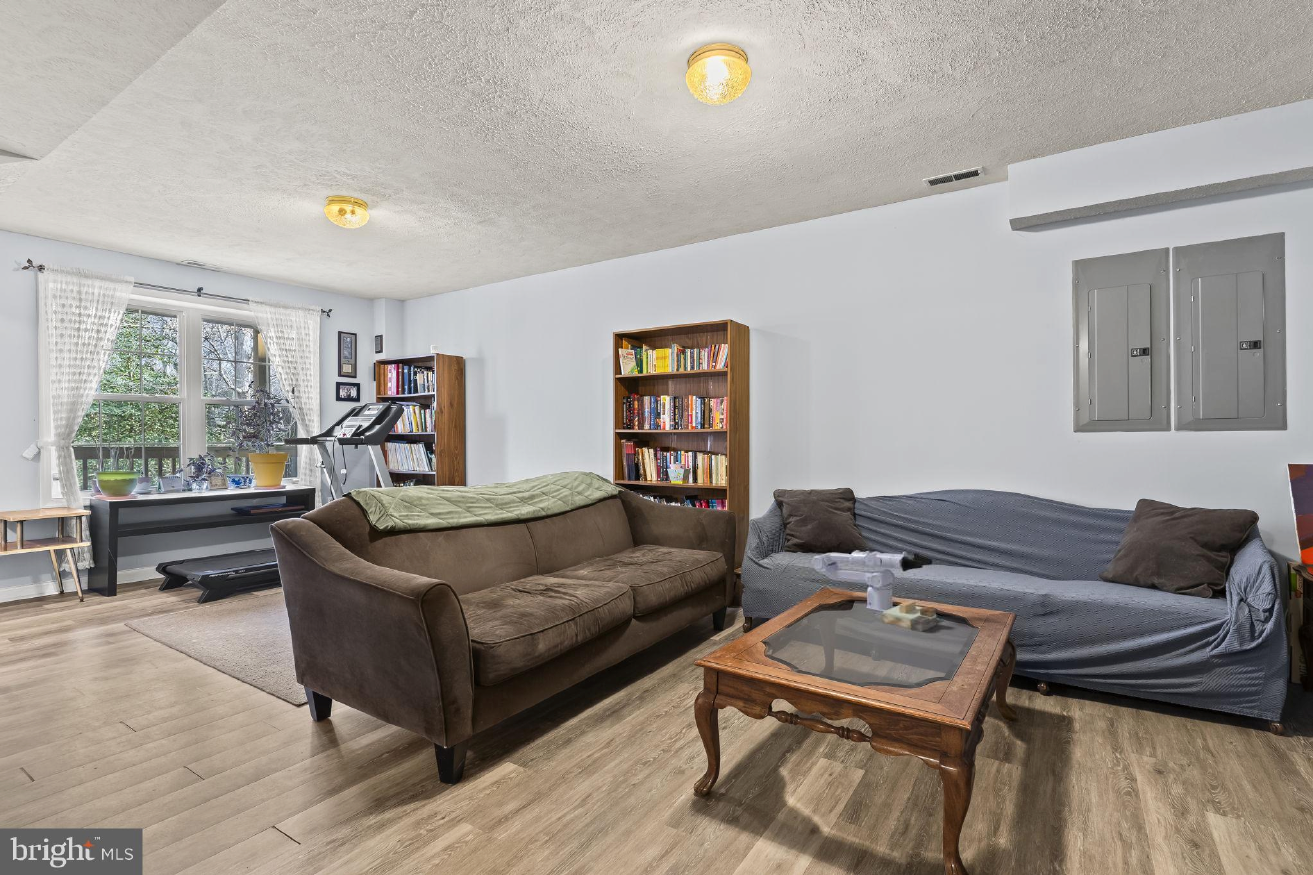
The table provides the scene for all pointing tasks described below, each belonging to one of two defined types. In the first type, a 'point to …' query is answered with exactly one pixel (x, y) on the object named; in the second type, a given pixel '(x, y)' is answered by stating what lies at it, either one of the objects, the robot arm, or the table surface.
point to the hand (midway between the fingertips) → (927, 563)
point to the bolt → (928, 611)
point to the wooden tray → (911, 622)
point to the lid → (906, 611)
